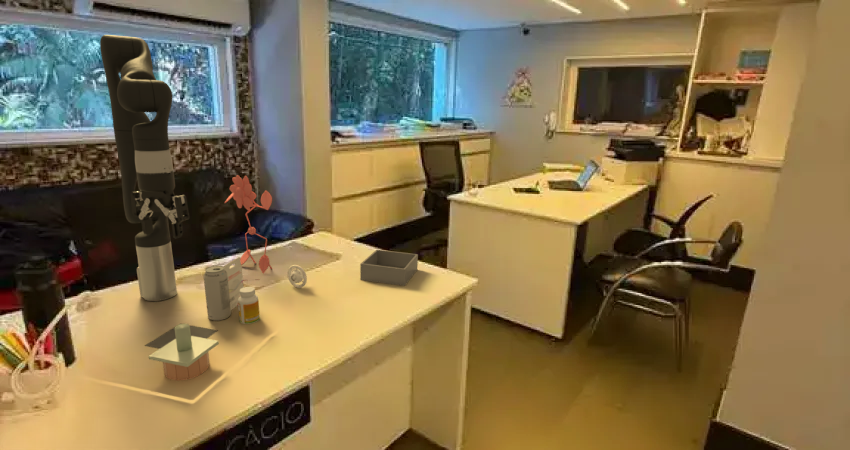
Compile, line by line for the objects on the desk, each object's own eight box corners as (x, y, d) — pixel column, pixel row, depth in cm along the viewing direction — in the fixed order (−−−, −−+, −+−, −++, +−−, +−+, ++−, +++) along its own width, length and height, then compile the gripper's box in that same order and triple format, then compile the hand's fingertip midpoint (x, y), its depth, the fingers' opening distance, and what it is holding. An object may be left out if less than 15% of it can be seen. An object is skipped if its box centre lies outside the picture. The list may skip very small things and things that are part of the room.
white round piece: (284, 286, 153) (283, 264, 151) (296, 281, 158) (295, 259, 156) (302, 292, 149) (302, 269, 147) (314, 286, 154) (313, 263, 152)
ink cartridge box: (230, 299, 142) (226, 254, 138) (245, 301, 141) (241, 256, 137) (213, 311, 134) (208, 264, 130) (228, 313, 133) (224, 266, 129)
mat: (144, 347, 115) (144, 345, 114) (180, 325, 126) (180, 323, 126) (185, 355, 112) (185, 353, 112) (218, 332, 123) (218, 330, 123)
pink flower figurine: (243, 257, 178) (234, 168, 167) (289, 273, 164) (282, 176, 154) (206, 270, 165) (194, 174, 155) (252, 288, 152) (243, 184, 142)
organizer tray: (360, 279, 161) (360, 263, 159) (376, 264, 176) (376, 249, 174) (404, 285, 157) (405, 269, 155) (417, 269, 172) (417, 254, 170)
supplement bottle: (263, 318, 131) (261, 287, 128) (251, 327, 126) (248, 294, 124) (248, 315, 133) (245, 284, 130) (235, 323, 128) (232, 291, 125)
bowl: (156, 378, 103) (153, 358, 101) (185, 357, 111) (183, 338, 110) (190, 385, 101) (187, 365, 99) (217, 363, 109) (215, 344, 108)
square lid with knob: (149, 359, 101) (145, 333, 99) (182, 337, 110) (180, 313, 109) (187, 366, 99) (184, 341, 97) (218, 343, 108) (216, 320, 106)
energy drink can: (214, 312, 134) (209, 264, 129) (234, 313, 133) (230, 265, 129) (204, 322, 128) (198, 272, 124) (225, 323, 128) (220, 273, 123)
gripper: (116, 169, 105) (126, 236, 110) (167, 173, 102) (176, 243, 106) (143, 164, 112) (151, 228, 117) (192, 169, 109) (199, 234, 113)
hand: (163, 235), depth 112 cm, fingers open, 8 cm apart
